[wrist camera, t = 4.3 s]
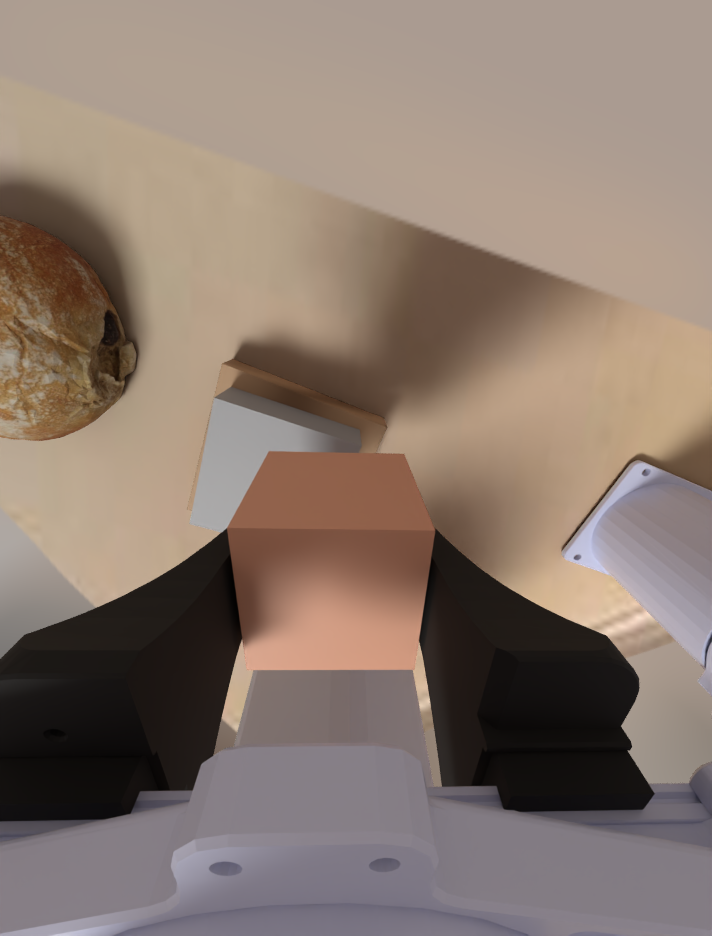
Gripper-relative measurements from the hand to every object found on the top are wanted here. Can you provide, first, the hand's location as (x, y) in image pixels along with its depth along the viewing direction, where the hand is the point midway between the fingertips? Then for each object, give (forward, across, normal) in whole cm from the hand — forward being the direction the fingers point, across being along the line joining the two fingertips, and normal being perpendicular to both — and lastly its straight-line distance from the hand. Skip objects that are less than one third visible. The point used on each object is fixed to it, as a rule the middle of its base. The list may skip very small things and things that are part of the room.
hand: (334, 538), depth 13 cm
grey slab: (+8, +3, +1) cm, 8 cm away
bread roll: (+10, +16, -6) cm, 20 cm away
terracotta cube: (+2, 0, 0) cm, 2 cm away
